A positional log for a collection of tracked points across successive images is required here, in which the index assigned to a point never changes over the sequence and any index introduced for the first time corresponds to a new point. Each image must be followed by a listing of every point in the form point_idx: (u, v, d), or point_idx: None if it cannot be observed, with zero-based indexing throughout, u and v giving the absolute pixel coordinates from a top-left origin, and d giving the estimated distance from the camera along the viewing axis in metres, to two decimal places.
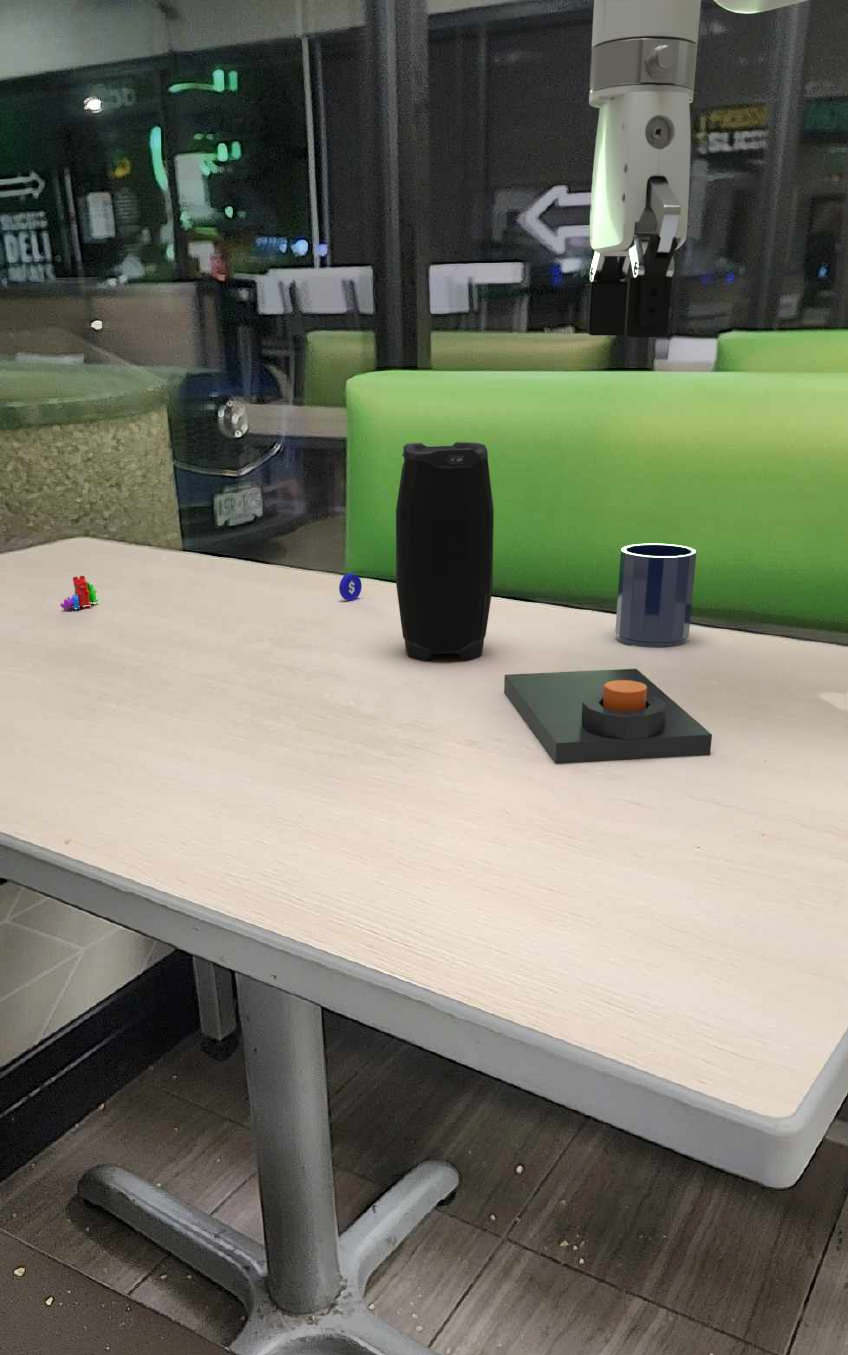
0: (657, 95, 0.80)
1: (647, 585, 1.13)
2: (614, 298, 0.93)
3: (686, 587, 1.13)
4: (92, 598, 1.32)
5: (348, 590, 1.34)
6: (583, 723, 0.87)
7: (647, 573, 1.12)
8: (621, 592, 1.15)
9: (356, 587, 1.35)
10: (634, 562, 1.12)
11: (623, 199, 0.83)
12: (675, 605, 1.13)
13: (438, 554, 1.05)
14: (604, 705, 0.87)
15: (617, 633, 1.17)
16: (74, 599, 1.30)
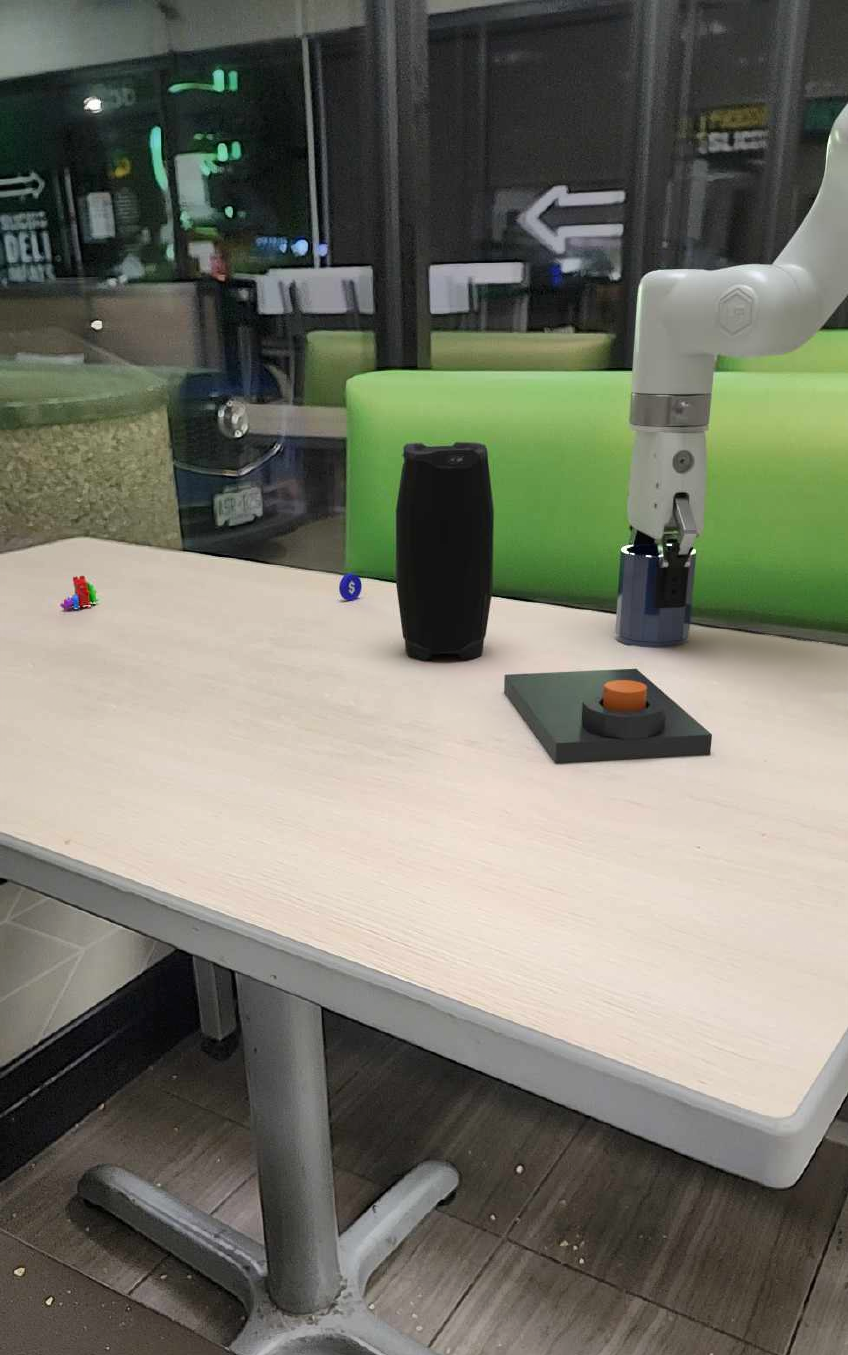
0: (681, 436, 1.06)
1: (647, 585, 1.13)
2: None
3: None
4: (92, 598, 1.32)
5: (348, 590, 1.34)
6: (583, 723, 0.87)
7: (647, 573, 1.12)
8: (621, 592, 1.15)
9: (356, 587, 1.35)
10: (634, 562, 1.12)
11: (655, 506, 1.09)
12: None
13: (438, 554, 1.05)
14: (604, 705, 0.87)
15: (617, 633, 1.17)
16: (74, 599, 1.30)
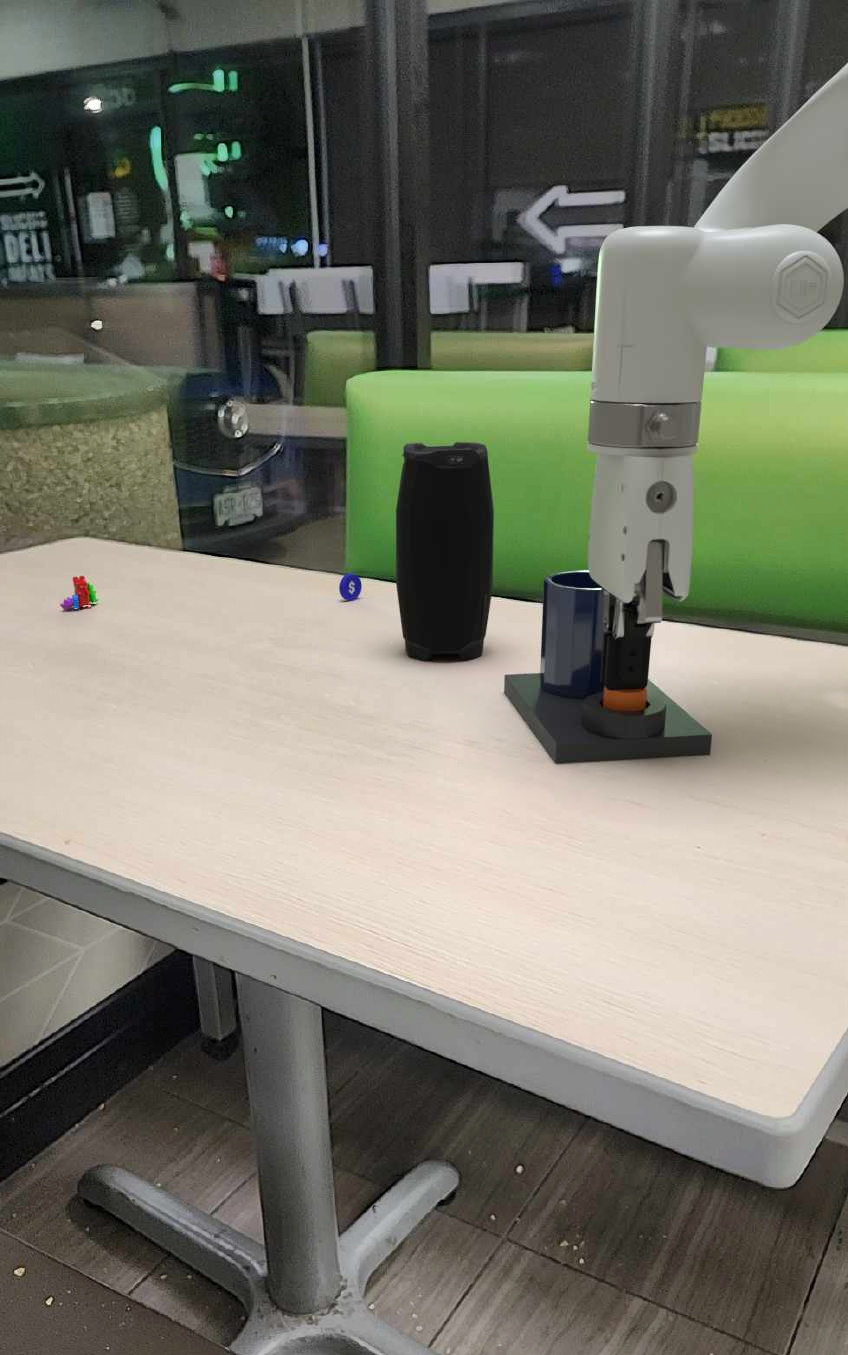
0: (659, 461, 0.76)
1: (574, 623, 0.92)
2: None
3: None
4: (92, 598, 1.32)
5: (348, 590, 1.34)
6: (583, 723, 0.87)
7: (574, 609, 0.91)
8: (545, 630, 0.94)
9: (356, 587, 1.35)
10: (558, 595, 0.92)
11: (622, 558, 0.78)
12: None
13: (438, 554, 1.05)
14: (604, 705, 0.87)
15: (541, 680, 0.96)
16: (74, 599, 1.30)
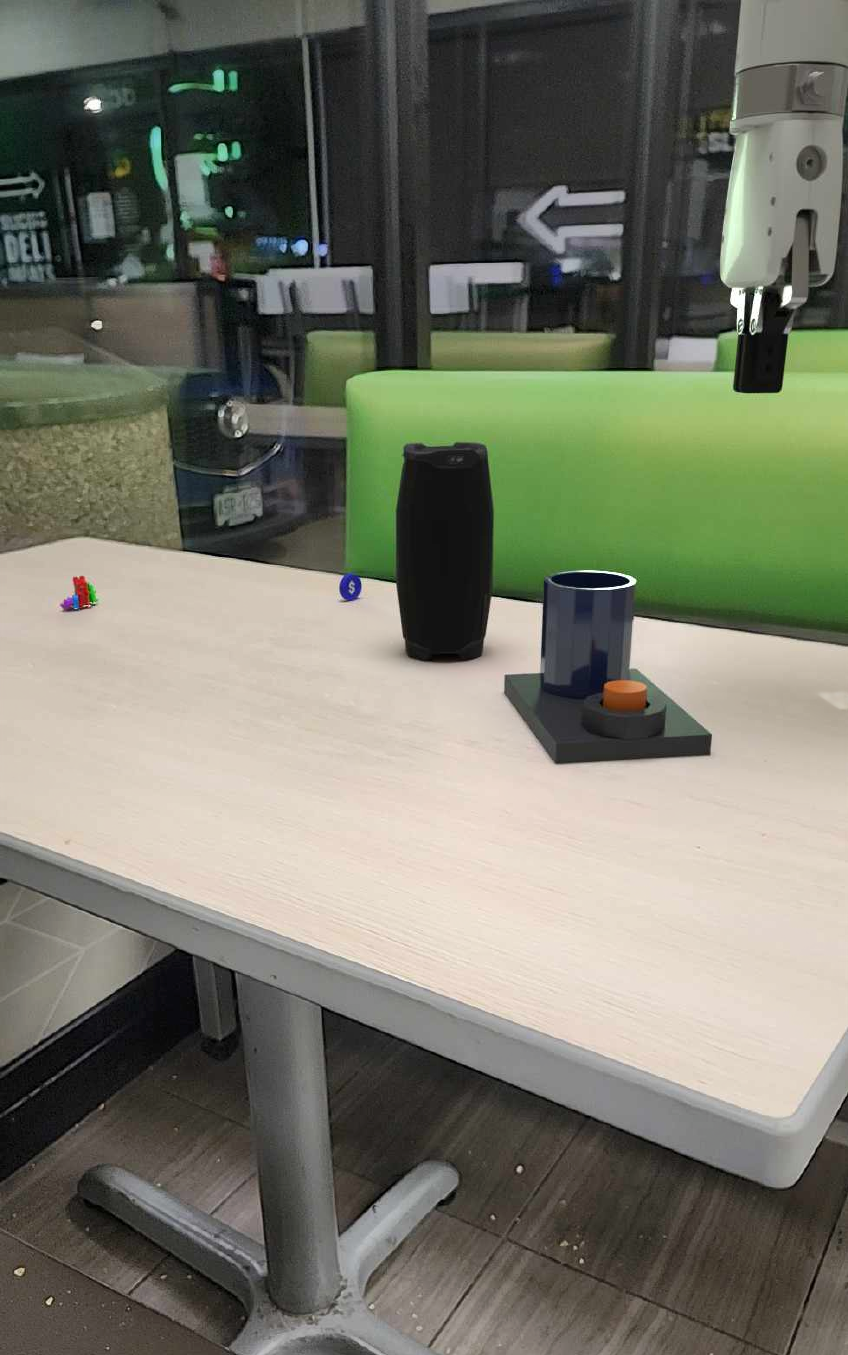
0: (810, 124, 0.75)
1: (574, 623, 0.92)
2: None
3: (623, 625, 0.92)
4: (92, 598, 1.32)
5: (348, 590, 1.34)
6: (583, 723, 0.87)
7: (574, 609, 0.91)
8: (545, 630, 0.94)
9: (356, 587, 1.35)
10: (558, 595, 0.92)
11: (768, 233, 0.78)
12: (609, 647, 0.92)
13: (438, 554, 1.05)
14: (604, 705, 0.87)
15: (541, 680, 0.96)
16: (74, 599, 1.30)
